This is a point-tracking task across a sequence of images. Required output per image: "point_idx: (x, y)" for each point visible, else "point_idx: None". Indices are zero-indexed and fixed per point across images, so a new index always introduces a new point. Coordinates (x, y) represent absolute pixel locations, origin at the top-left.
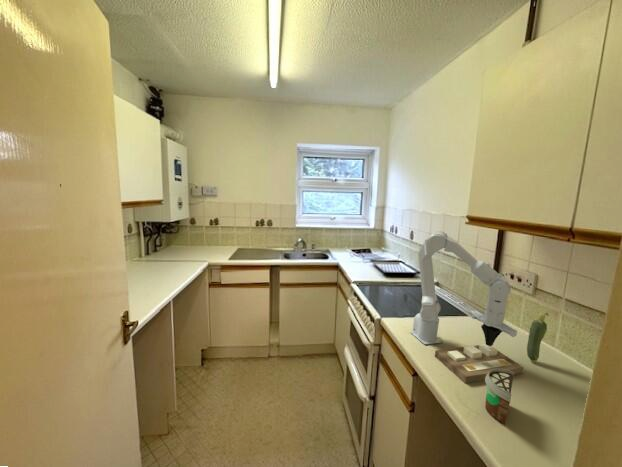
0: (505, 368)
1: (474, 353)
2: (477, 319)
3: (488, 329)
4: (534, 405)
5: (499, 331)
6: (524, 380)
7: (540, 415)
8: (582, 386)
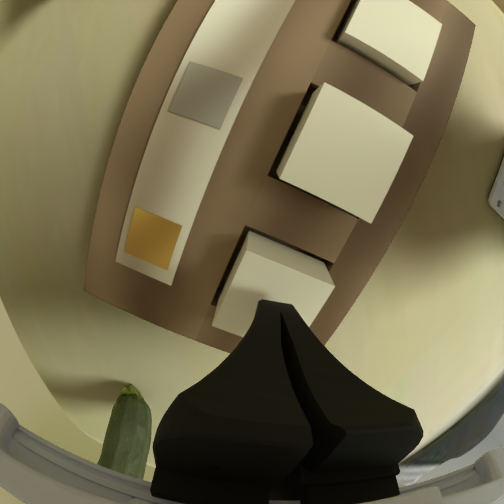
0: (117, 178)
1: (317, 95)
2: (457, 474)
3: (306, 430)
4: (19, 78)
5: (160, 464)
6: (75, 220)
7: (8, 51)
8: (24, 348)
